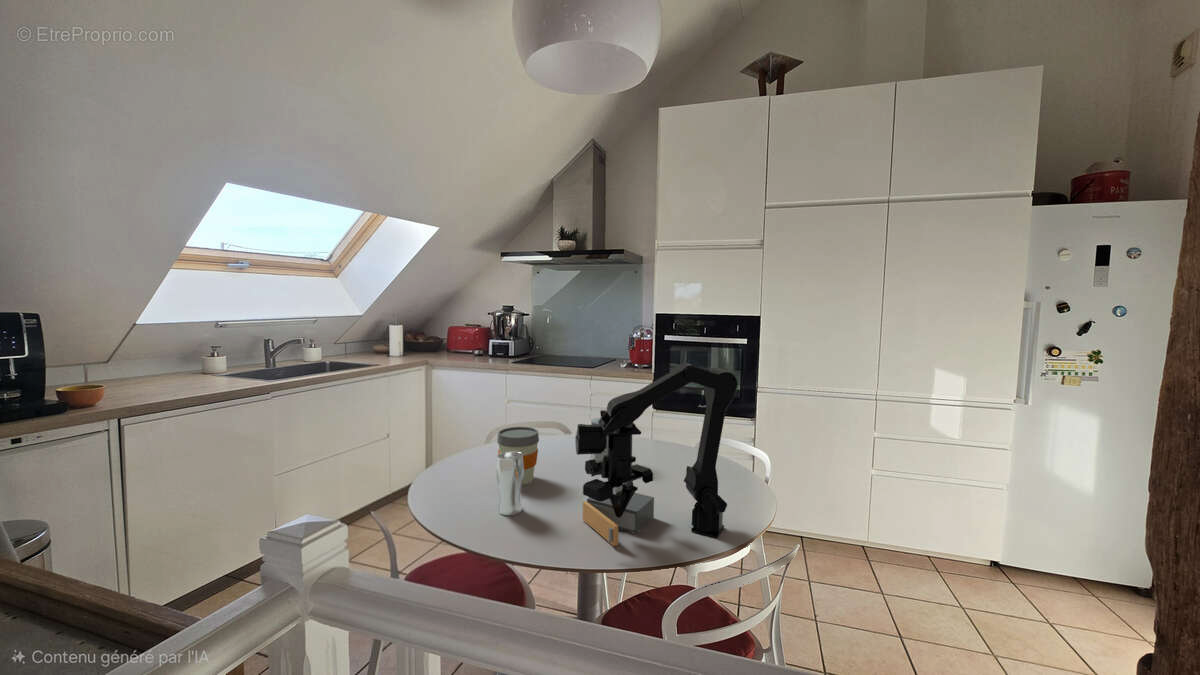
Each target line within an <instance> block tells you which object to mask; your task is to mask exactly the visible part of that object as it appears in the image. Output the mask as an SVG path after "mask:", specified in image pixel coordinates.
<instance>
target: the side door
mask: <svg viewBox="0 0 1200 675" xmlns="http://www.w3.org/2000/svg"><path fill="white" fill-rule="evenodd" d="M582 521H584V522H585V523H586V524H587V525H589V527H590V528H592V529H593V530H595V532H596V533H598V534H599V535H600V536H601V537H603V538H604V540H606V541H607V542H608V543H609V544H610V545H612V546H613V547H617V546H618V545H619V529H618V525H617V524H615V523H614V522H613V521H611V520H610V519H609V518H608V517H606V516H605V515H604V514H602V513H601V512H600V511H598V510H597V509H596V508H595V507H593V506H592V505H591V504H589V503H588V502H587V500H586V501H583V502H582Z"/></svg>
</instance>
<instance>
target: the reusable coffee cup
mask: <svg viewBox="0 0 1200 675" xmlns="http://www.w3.org/2000/svg"><path fill="white" fill-rule="evenodd" d="M539 439H540V438H539V431H538V429H536V428H533V427H527V426H513V427H505V428H502V429H500V430H499V431H498V432H497V444H498V451H497V453H498V454H500V453H502V452H507V451H516V452H520V453H522V454H523V467H524V472H523V482H522V486H524V484H525V485H528V484H530V483H532V482H533V481H532V480H534V472H535V466H536V465H537V463H538V461H537V460H538V453H539V452H538V451H539V449H538V443H539V442H540V440H539ZM498 454H497V455H498ZM531 481H532V482H531ZM527 483H528V484H527Z"/></svg>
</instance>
